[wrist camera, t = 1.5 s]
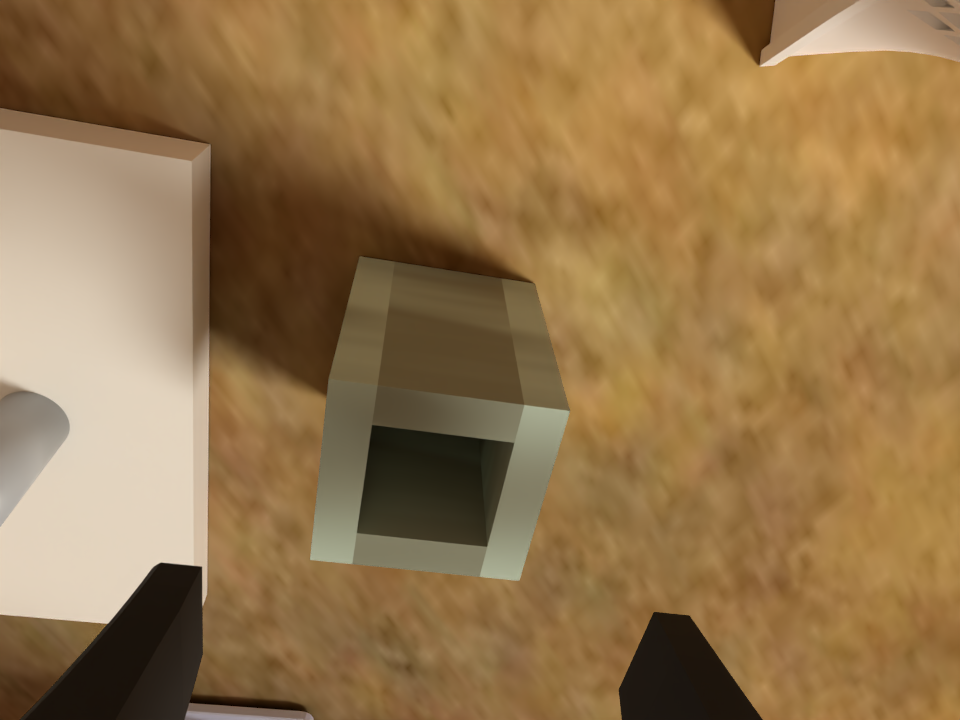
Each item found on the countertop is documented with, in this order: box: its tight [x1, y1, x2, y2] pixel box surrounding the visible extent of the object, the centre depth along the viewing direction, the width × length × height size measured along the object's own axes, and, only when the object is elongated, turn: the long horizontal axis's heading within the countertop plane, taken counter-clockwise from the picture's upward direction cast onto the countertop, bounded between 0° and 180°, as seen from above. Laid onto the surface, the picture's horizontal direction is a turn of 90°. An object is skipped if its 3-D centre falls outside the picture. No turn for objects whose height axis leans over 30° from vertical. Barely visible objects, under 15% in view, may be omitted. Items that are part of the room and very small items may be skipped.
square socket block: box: [310, 256, 570, 581], centre depth 17 cm, size 5×5×6 cm
